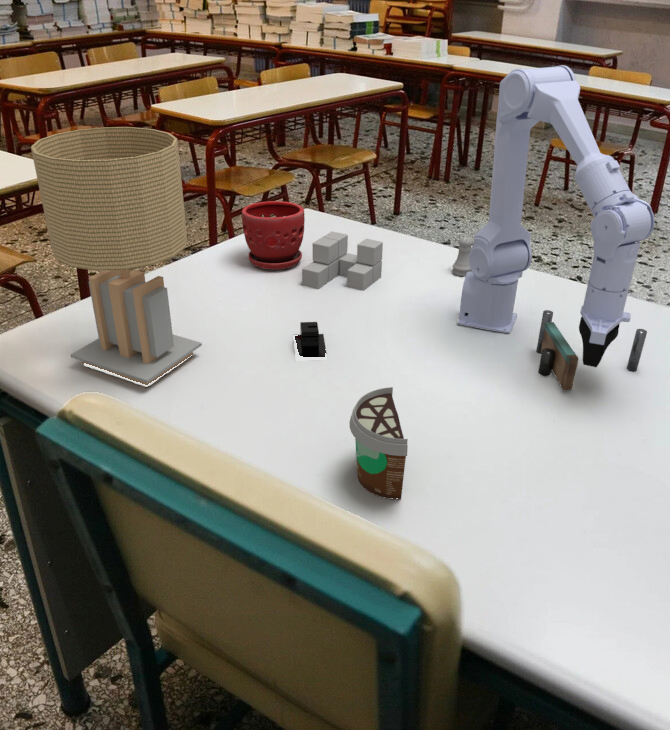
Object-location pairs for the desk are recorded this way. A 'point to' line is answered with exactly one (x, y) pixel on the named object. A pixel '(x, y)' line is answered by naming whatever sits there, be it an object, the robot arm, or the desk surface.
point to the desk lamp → (118, 238)
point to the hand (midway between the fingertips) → (590, 364)
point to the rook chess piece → (463, 256)
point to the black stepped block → (310, 340)
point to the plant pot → (273, 233)
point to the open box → (560, 356)
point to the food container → (379, 444)
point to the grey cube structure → (343, 262)
